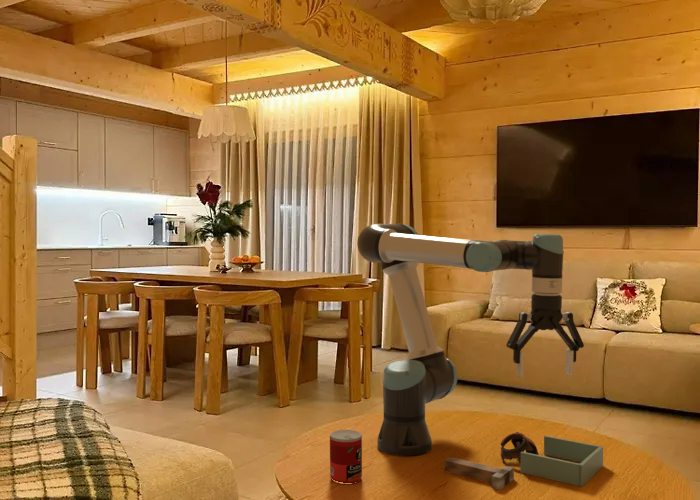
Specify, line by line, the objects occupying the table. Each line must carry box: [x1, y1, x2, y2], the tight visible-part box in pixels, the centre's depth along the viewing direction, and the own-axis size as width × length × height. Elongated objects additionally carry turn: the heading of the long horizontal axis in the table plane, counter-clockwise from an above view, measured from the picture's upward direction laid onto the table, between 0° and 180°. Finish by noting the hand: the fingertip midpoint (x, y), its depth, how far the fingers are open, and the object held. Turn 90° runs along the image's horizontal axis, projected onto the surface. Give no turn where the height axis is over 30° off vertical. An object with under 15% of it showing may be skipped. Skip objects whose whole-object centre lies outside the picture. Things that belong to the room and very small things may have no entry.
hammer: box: [444, 456, 515, 491], centre depth 160 cm, size 16×8×3 cm, turn 53°
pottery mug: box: [500, 431, 540, 462], centre depth 171 cm, size 12×10×8 cm
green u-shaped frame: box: [520, 435, 604, 487], centre depth 164 cm, size 15×17×5 cm
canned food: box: [329, 429, 363, 484], centre depth 159 cm, size 8×8×11 cm
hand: (544, 375), depth 169 cm, fingers open, 13 cm apart
